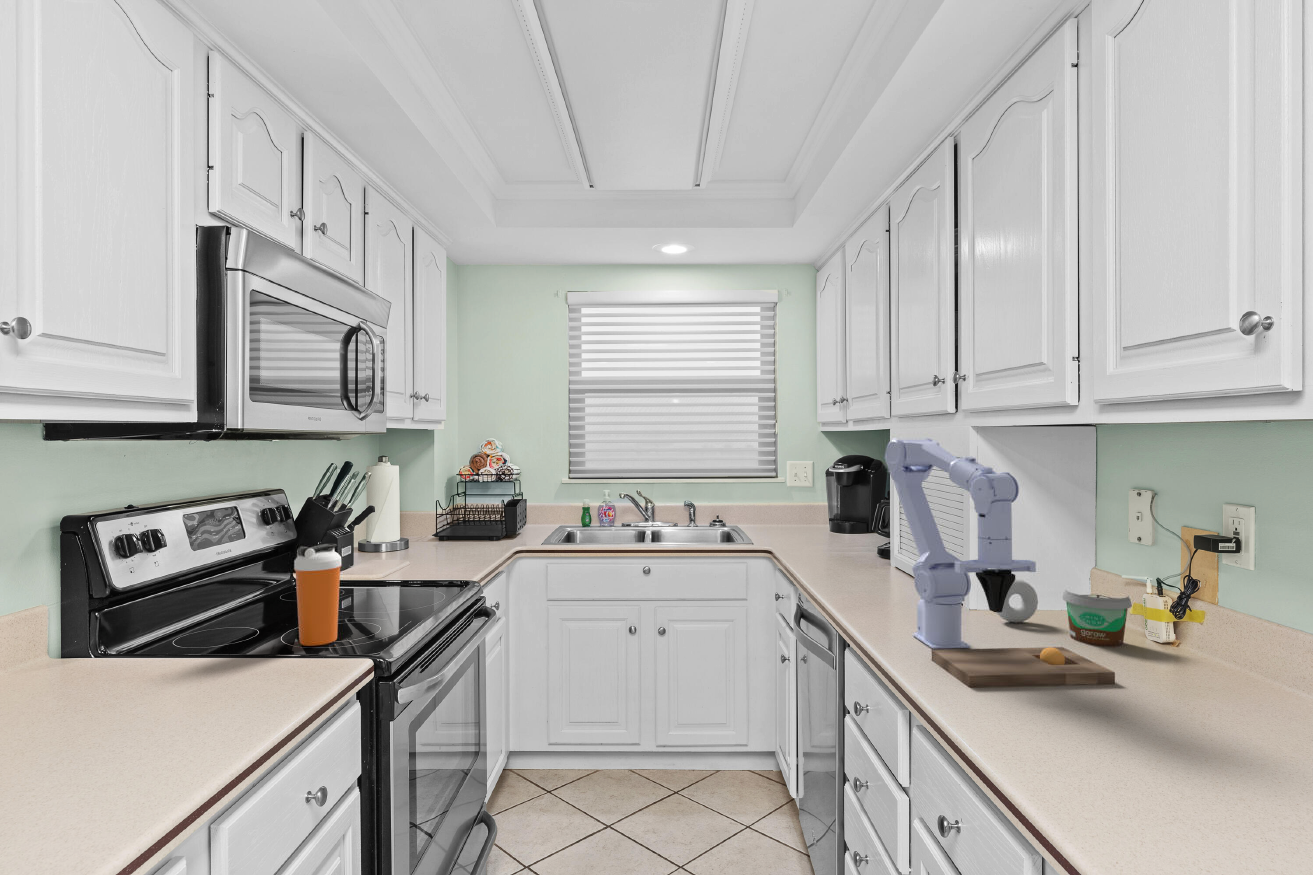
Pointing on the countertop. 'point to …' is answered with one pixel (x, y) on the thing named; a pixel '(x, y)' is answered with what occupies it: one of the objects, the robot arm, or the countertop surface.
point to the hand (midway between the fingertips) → (995, 611)
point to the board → (1019, 667)
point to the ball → (1052, 656)
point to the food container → (1097, 618)
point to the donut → (1026, 606)
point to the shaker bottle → (317, 593)
